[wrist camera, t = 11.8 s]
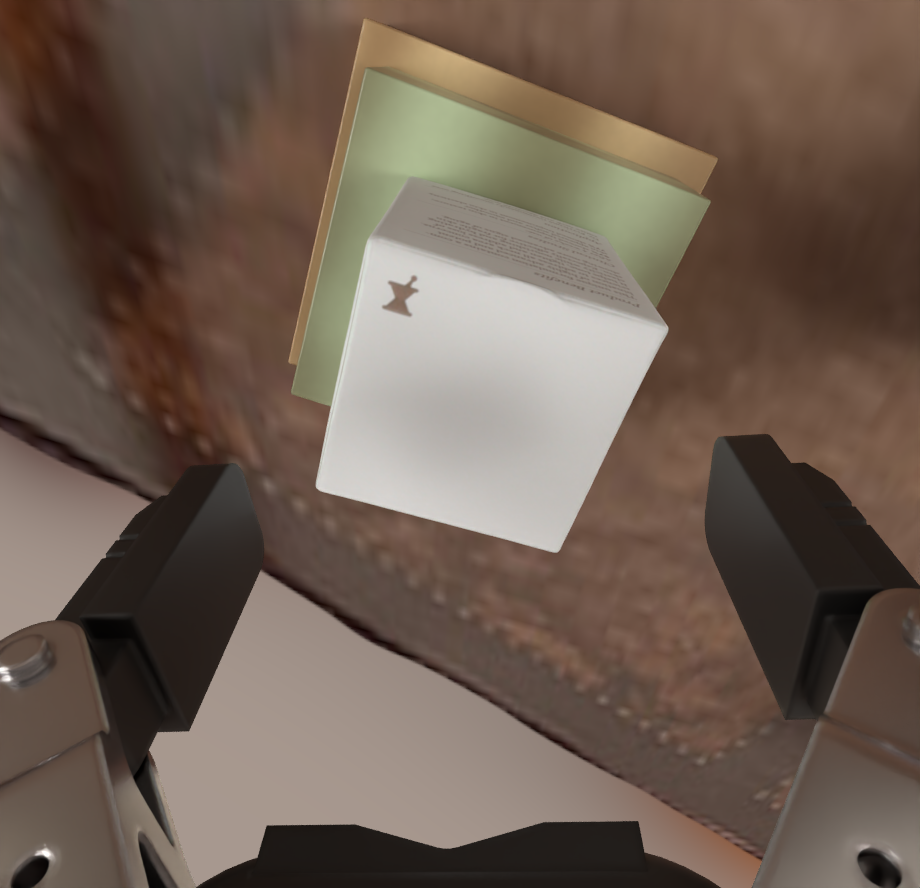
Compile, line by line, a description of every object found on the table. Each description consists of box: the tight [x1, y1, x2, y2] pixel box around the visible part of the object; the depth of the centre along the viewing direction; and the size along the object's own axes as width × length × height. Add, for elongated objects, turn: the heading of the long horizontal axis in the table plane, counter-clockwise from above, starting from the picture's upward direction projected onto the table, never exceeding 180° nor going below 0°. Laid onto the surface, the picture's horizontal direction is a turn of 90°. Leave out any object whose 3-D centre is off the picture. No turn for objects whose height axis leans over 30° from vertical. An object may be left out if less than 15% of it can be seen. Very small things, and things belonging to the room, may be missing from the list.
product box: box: [316, 176, 668, 553], centre depth 17 cm, size 6×6×7 cm
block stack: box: [288, 18, 718, 406], centre depth 23 cm, size 12×12×8 cm
